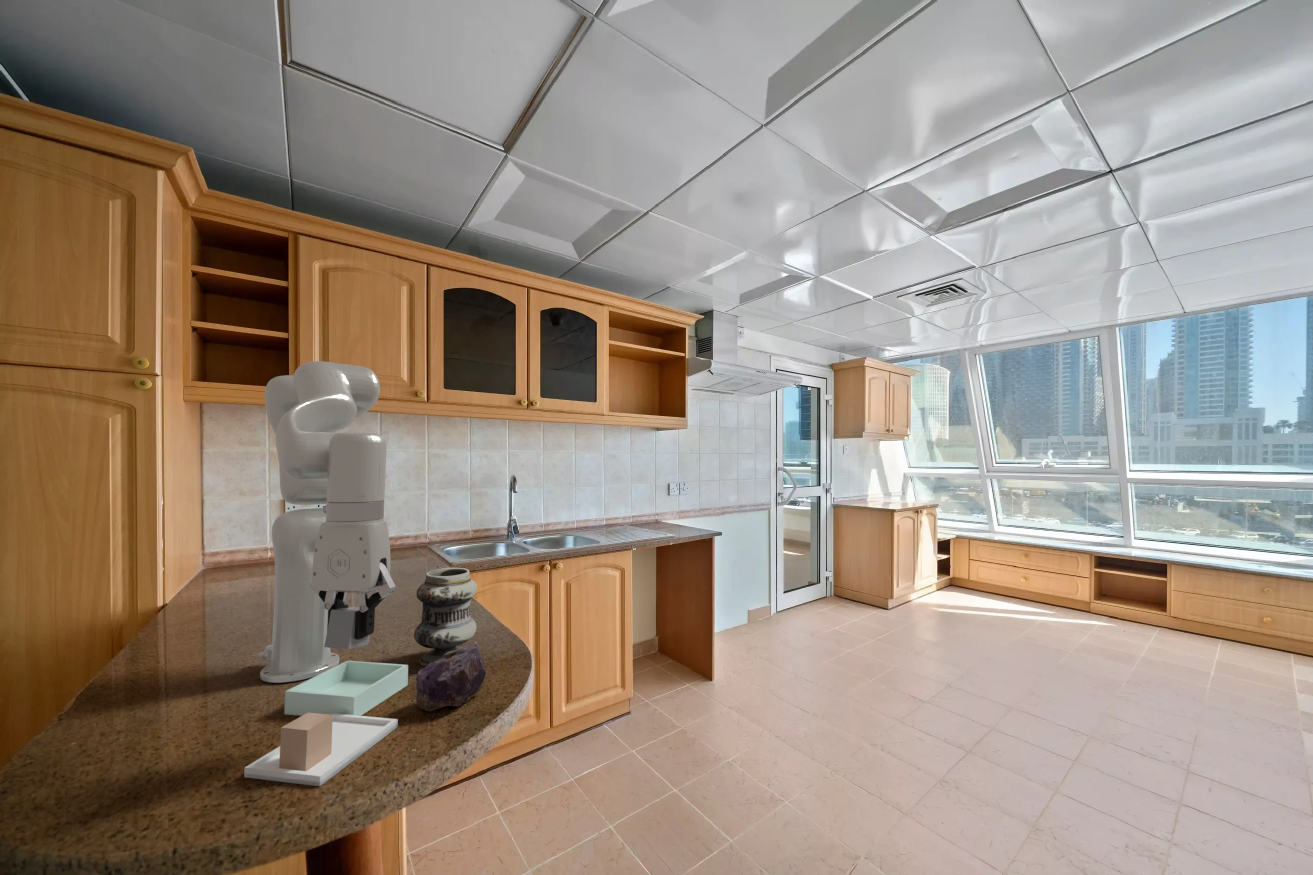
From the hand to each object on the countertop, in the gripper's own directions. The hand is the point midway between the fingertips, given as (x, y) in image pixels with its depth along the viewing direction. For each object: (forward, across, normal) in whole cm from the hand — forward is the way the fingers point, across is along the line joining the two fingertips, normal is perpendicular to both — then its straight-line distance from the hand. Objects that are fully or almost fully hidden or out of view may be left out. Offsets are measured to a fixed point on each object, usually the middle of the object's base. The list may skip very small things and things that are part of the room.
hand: (350, 634), depth 73 cm
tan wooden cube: (+14, 0, -7) cm, 16 cm away
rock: (+15, +10, +12) cm, 22 cm away
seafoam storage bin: (+15, -9, +10) cm, 20 cm away
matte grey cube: (+1, 0, -1) cm, 2 cm away
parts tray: (+15, 0, -4) cm, 15 cm away
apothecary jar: (+15, -3, +29) cm, 33 cm away
